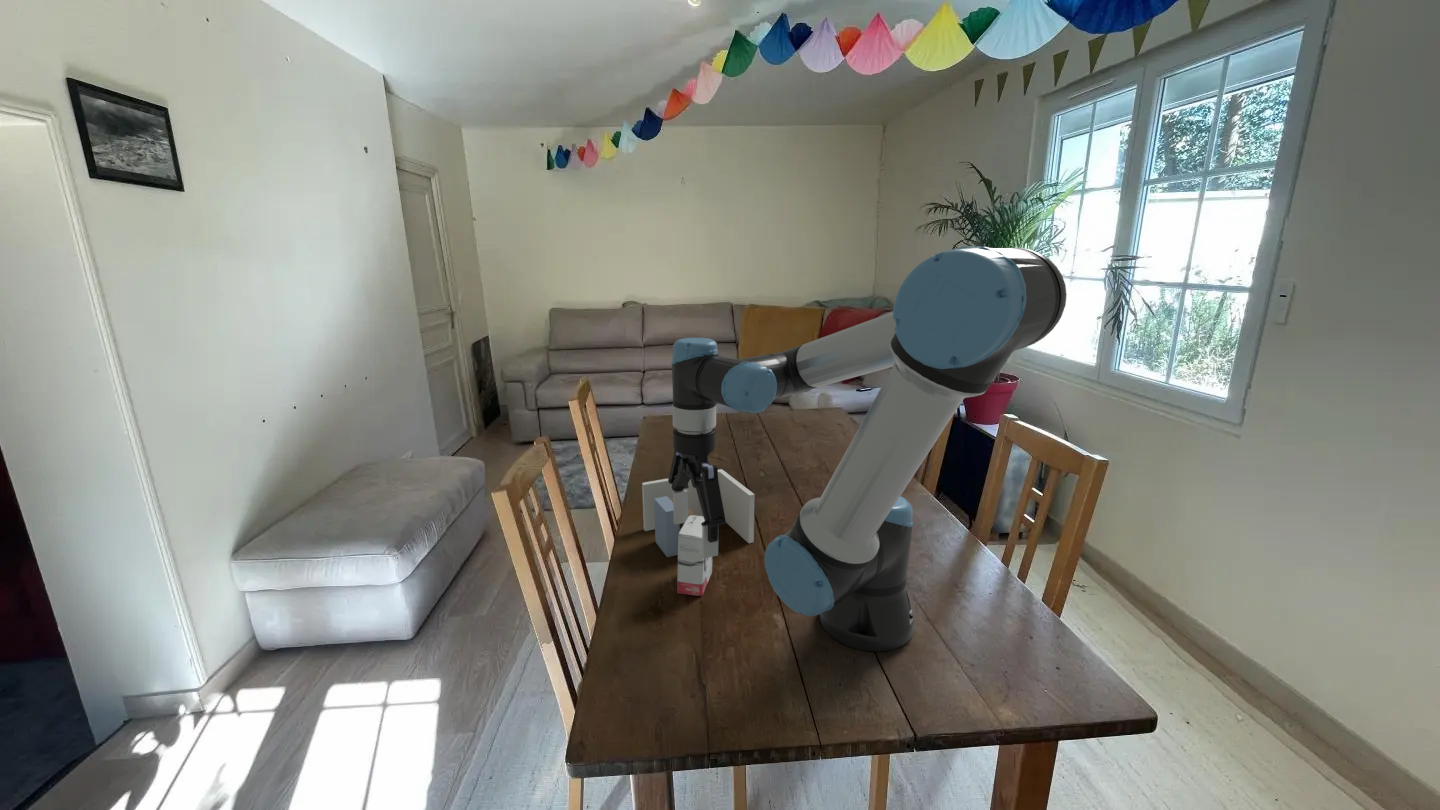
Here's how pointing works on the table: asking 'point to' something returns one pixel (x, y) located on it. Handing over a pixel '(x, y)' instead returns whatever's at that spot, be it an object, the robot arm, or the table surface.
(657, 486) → the white corner wall
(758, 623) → the table surface
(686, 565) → the ink box
